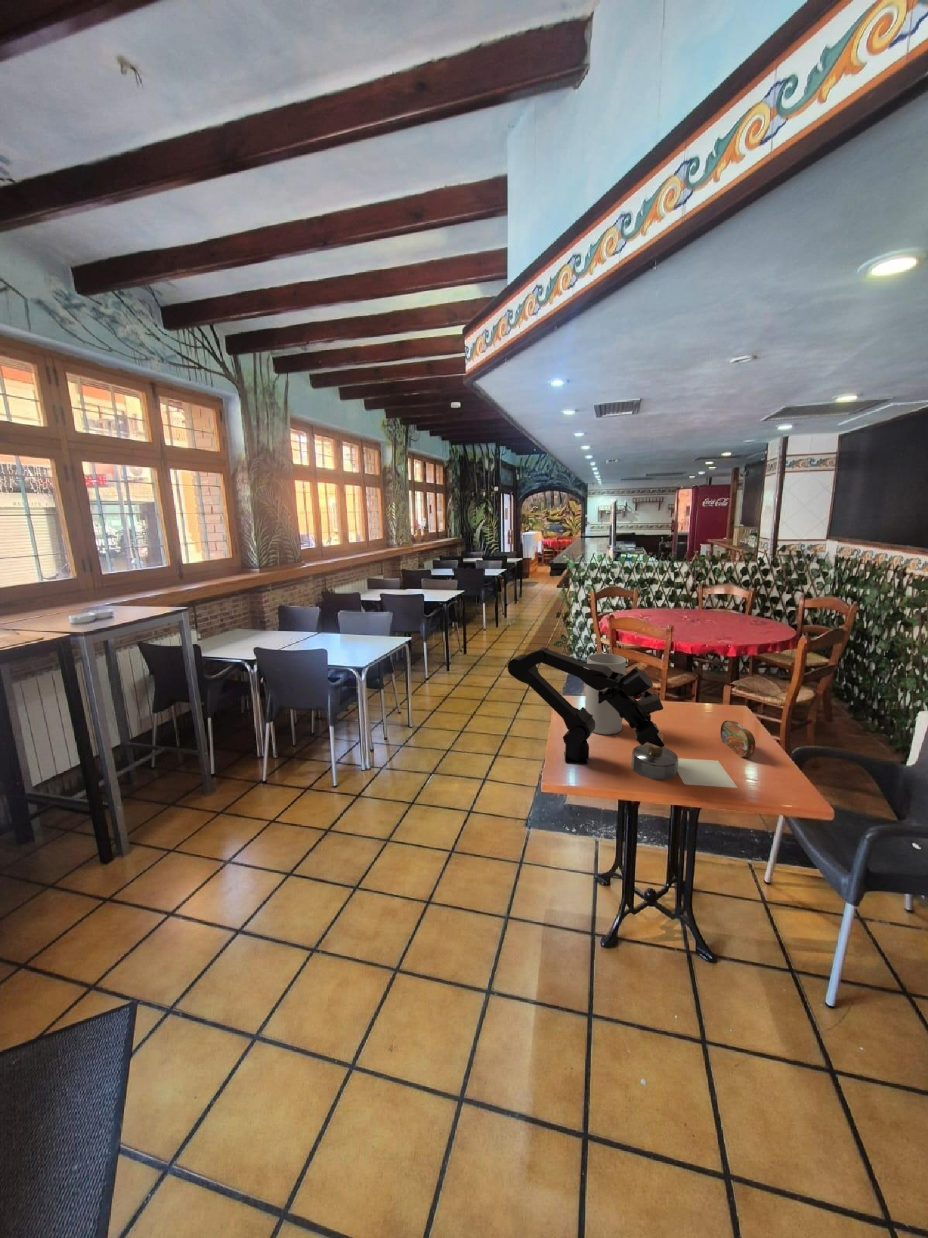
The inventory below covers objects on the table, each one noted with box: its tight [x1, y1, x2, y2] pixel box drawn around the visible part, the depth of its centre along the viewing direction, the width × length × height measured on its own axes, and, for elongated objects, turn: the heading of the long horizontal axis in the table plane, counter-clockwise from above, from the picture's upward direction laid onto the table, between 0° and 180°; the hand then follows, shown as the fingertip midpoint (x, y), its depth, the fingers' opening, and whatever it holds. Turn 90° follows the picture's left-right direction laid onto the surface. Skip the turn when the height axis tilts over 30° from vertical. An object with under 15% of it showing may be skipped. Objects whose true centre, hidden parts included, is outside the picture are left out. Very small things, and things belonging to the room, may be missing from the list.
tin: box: [720, 720, 756, 758], centre depth 152 cm, size 15×3×8 cm, turn 1°
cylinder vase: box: [584, 653, 627, 736], centre depth 168 cm, size 12×12×25 cm
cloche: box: [630, 732, 678, 781], centre depth 141 cm, size 12×12×11 cm
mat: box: [677, 757, 738, 789], centre depth 140 cm, size 14×15×1 cm
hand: (661, 742), depth 140 cm, fingers open, 4 cm apart
